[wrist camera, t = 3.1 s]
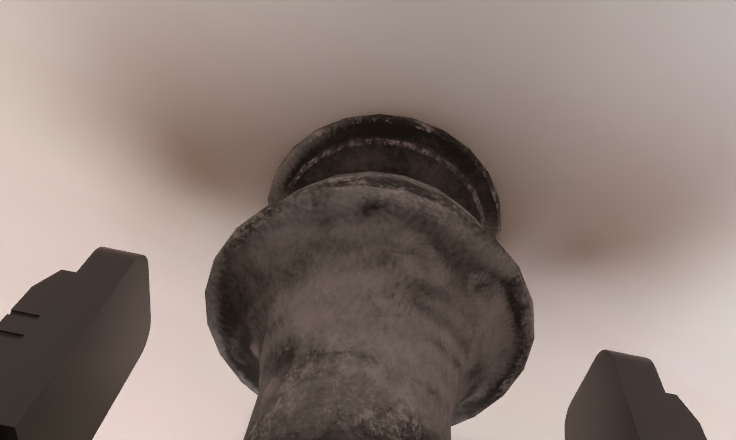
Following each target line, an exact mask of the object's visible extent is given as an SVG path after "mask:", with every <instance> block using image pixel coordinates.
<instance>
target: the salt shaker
mask: <svg viewBox="0 0 736 440" xmlns="http://www.w3.org/2000/svg"><path fill="white" fill-rule="evenodd" d="M500 231H501V221H500V205H499V198H498V196H497V193H496V191H495V188H494V186H493V183H492V181H491V178H490V175H489V173H488V172H487V171H486V169H485V168H484V167H483V165H482V164H481V163H480V162H479V160H478V159H477V158H476V157H475V155H474V154H473V153H472V152H471V150H470V149H468V148H467V147H466V146H464V145H463V144H461V143H460V142H459V141H457V140H456V139H455V138H453V137H452V136H450V135H449V134H448V133H446V132H445V131H443V130H441V129H438V128H435V127H433V126H430V125H428V124H425V123H423V122H420V121H418V120H415V119H412V118H404V117H396V116H388V115H380V114H378V115H370V116H361V117H353V118H346V119H343V120H341V121H338V122H336V123H333V124H331V125H328V126H326V127H323V128H321V129H318V130H316V131H315V132H314V133H312V134H311V135H310V136H308V137H307V138H306V139H304V140H303V141H302V142H300V143H299V144H298V145H297V146H295V147H294V148H293V149H292V151H291V152H290V154H289V155H288V156H287V158H286V159H285V160H284V162H283V163H282V165H281V166H280V167H279V169H278V170H277V172H276V175H275V179H274V182H273V185H272V188H271V191H270V194H269V197H268V206H266V207H265V208H264V209H262V210H261V211H259V212H258V213H257V214H255V215H254V216H253V217H251V218H250V219H248V220H247V221H246V222H244V223H243V224H241V225H240V226H239V227H237V228H236V229H235V231H234V232H233V234H232V235H231V236H230V238H229V239H228V241H227V242H226V243H225V245H224V246H223V247H222V249H221V250H220V252H219V253H218V254H217V256H216V257H215V259H214V261H213V265H212V269H211V272H210V276H209V279H208V283H207V286H206V290H205V299H206V312H207V324H208V326H209V329H210V331H211V334H212V336H213V338H214V341H215V343H216V346H217V348H218V350H219V353H220V355H221V356H222V357H223V359H224V360H225V361H226V362H227V364H228V365H229V366H230V368H231V369H232V370H233V371H234V373H235V374H236V375H237V377H238V378H239V379H240V380H241V382H242V383H243V384H245V385H246V386H247V387H248V388H250V389H251V390H252V391H253V392H254V393H256V394H257V395H258V397H257V400H256V403H255V406H254V410H253V413H252V416H251V419H250V422H249V425H248V428H247V431H246V434H245V437H244V440H451V426H453V425H456V424H458V423H460V422H463V421H465V420H467V419H470V418H472V417H475V416H476V415H477V414H479V413H480V412H481V411H483V410H484V409H486V408H487V407H488V406H490V405H491V404H492V403H494V402H495V401H496V400H498V399H499V398H501V397H502V396H503V395H504V394H505V393H506V392H507V390H508V389H509V388H510V386H511V385H512V384H513V383H514V381H515V380H516V379H517V377H518V376H519V375H520V373H521V372H522V371H523V370H524V367H525V364H526V361H527V358H528V356H529V353H530V350H531V347H532V344H533V341H534V313H533V301H532V298H531V296H530V293H529V291H528V288H527V286H526V283H525V281H524V278H523V276H522V273H521V271H520V268H519V266H518V265H517V264H516V263H515V262H514V260H513V259H512V258H511V257H510V256H509V254H508V253H507V252H506V251H505V250H504V248H503V247H502V246H501V245H500V244H499V242H498V238H499V234H500Z"/></svg>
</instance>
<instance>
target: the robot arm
mask: <svg viewBox="0 0 736 440" xmlns="http://www.w3.org/2000/svg"><path fill="white" fill-rule="evenodd" d="M150 323H151V313H150V291H149V268H148V260H147V258H146V256H144V255H140V254H135V253H130V252H125V251H121V250H116V249H111V248H106V247H99V248H97V249H96V250H95V251H94V252H93V253H92V254H91V256H90V257H89V258H88V259H87V260H86V262H85V263H84V264H83V265H82V266H81V268H80V269H79V270H78V271H77V272H71V271H66V270H60V271H58V272H57V273H55V274H53V275H52V276H50V277H48V278H46V279H45V280H43V281H41V282H39V283H38V284H36V285H34V286H32V287H31V288H30V289H29V291H28V292H27V293H26V294H25V295H24V296H23V297H22V298H21V299H20V300H19V302H18V303H17V304H16V305H15V306H14V307H13V308H12V309H11V313H10V315H8V314H7V315H6V316H5V317H4V318H3V319H2V320H1V321H0V440H92V439H93V437H94V435H95V434H96V432H97V430H98V428H99V427H100V425H101V423H102V421H103V420H104V418H105V416H106V415H107V413H108V411H109V409H110V408H111V406H112V404H113V402H114V401H115V399H116V397H117V395H118V394H119V392H120V390H121V389H122V387H123V385H124V383H125V382H126V380H127V378H128V376H129V375H130V373H131V371H132V370H133V368H134V366H135V364H136V363H137V361H138V359H139V357H140V356H141V354H142V352H143V350H144V347H145V345H146V342H147V339H148V335H149V330H150ZM565 440H707V439H706V437H705V434H704V432H703V430H702V427H701V425H700V423H699V422H698V420H697V419H696V418H695V417H694V416H693V414H692V413H691V412H690V411H689V409H688V408H687V407H686V406H685V405H684V403H683V402H682V401H681V400H680V399H679V397H678V396H677V395H674V394H669V393H665V391H664V388H663V386H662V383H661V381H660V378H659V376H658V373H657V371H656V368H655V366H654V364H653V363H652V361H651V360H650V359H648V358H644V357H639V356H634V355H629V354H624V353H619V352H614V351H609V350H602V351H601V352H599V354H598V355H597V356H596V358H595V360H594V362H593V363H592V365H591V367H590V369H589V371H588V372H587V374H586V376H585V378H584V380H583V381H582V383H581V385H580V387H579V389H578V391H577V392H576V394H575V396H574V398H573V400H572V401H571V403H570V405H569V408H568V411H567V415H566V420H565Z"/></svg>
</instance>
